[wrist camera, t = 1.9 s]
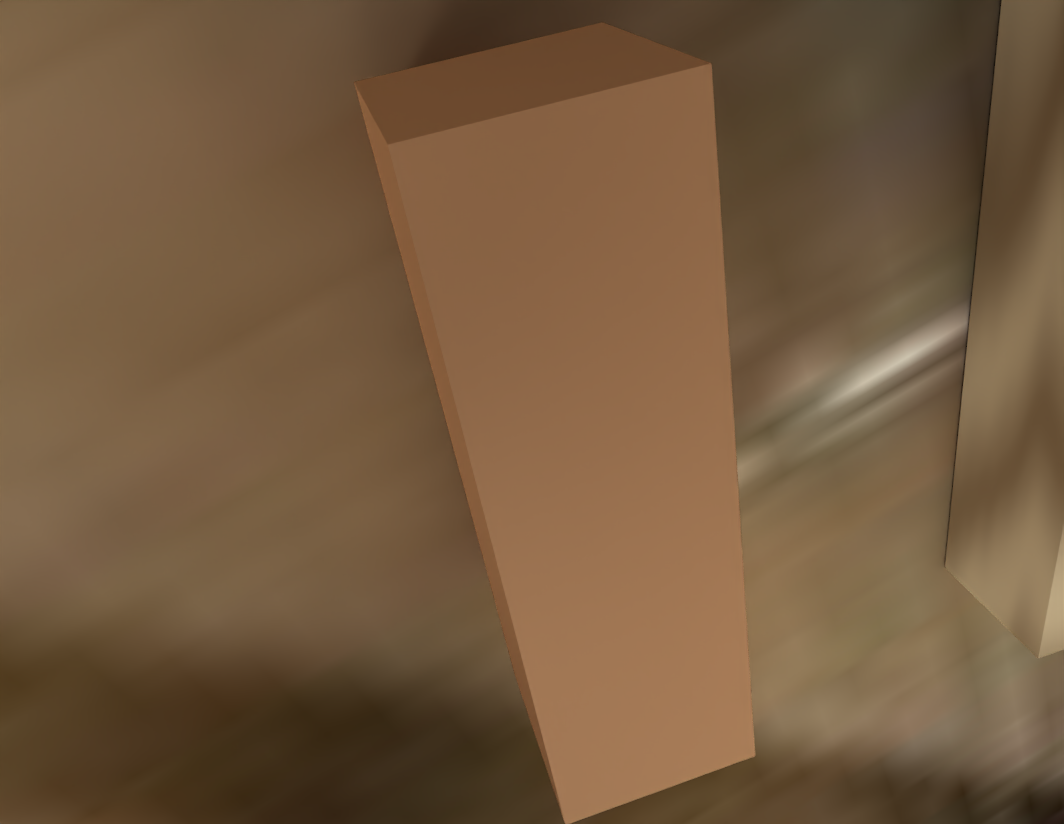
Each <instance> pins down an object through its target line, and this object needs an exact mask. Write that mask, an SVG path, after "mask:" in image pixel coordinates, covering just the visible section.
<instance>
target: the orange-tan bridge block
mask: <svg viewBox="0 0 1064 824" xmlns="http://www.w3.org/2000/svg"><path fill="white" fill-rule="evenodd" d="M354 84H355V88H356V91H357V95H358V99H359V103H360V106H361V110H362V114H363V117H364V121H365V125H366V128H367V132H368V136H369V139H370V143H371V147H372V150H373V154H374V158H375V161H376V165H377V169H378V173H379V176H380V180H381V184H382V187H383V191H384V195H385V198H386V202H387V206H388V209H389V213H390V217H391V220H392V224H393V228H394V231H395V235H396V239H397V243H398V246H399V250H400V254H401V257H402V261H403V265H404V268H405V272H406V276H407V279H408V283H409V287H410V290H411V294H412V298H413V302H414V305H415V309H416V313H417V316H418V320H419V324H420V327H421V331H422V335H423V338H424V342H425V346H426V349H427V353H428V357H429V360H430V364H431V368H432V372H433V375H434V379H435V383H436V386H437V390H438V394H439V397H440V401H441V405H442V408H443V412H444V416H445V419H446V423H447V427H448V430H449V434H450V438H451V442H452V445H453V449H454V453H455V456H456V460H457V464H458V467H459V471H460V475H461V478H462V482H463V486H464V489H465V493H466V497H467V501H468V504H469V508H470V512H471V515H472V519H473V523H474V526H475V530H476V534H477V537H478V541H479V545H480V548H481V552H482V556H483V559H484V563H485V567H486V571H487V574H488V578H489V582H490V585H491V589H492V593H493V596H494V600H495V604H496V607H497V611H498V615H499V618H500V622H501V626H502V629H503V633H504V637H505V641H506V644H507V648H508V652H509V655H510V659H511V663H512V666H513V670H514V674H515V677H516V680H517V683H518V686H519V689H520V692H521V695H522V698H523V701H524V704H525V706H526V709H527V712H528V715H529V718H530V721H531V724H532V727H533V730H534V733H535V736H536V739H537V742H538V745H539V748H540V751H541V754H542V757H543V760H544V763H545V766H546V769H547V772H548V775H549V778H550V781H551V784H552V787H553V790H554V793H555V795H556V798H557V801H558V804H559V807H560V810H561V813H562V816H563V819H564V822H565V824H570V823H573V822H575V821H578V820H581V819H584V818H586V817H589V816H592V815H595V814H597V813H600V812H603V811H606V810H608V809H611V808H614V807H617V806H619V805H622V804H625V803H628V802H630V801H633V800H636V799H639V798H641V797H644V796H647V795H650V794H652V793H655V792H658V791H660V790H663V789H666V788H669V787H671V786H674V785H677V784H680V783H682V782H685V781H688V780H691V779H693V778H696V777H699V776H702V775H704V774H707V773H710V772H713V771H715V770H718V769H721V768H724V767H726V766H729V765H732V764H735V763H737V762H740V761H743V760H746V759H748V758H751V757H754V756H755V744H754V728H753V713H752V697H751V681H750V665H749V649H748V633H747V617H746V601H745V586H744V570H743V554H742V538H741V522H740V506H739V490H738V475H737V459H736V443H735V427H734V411H733V395H732V379H731V364H730V348H729V332H728V316H727V300H726V284H725V268H724V252H723V237H722V221H721V205H720V189H719V173H718V157H717V141H716V126H715V110H714V94H713V78H712V63H709V62H707V61H704V60H701V59H699V58H696V57H693V56H691V55H688V54H685V53H683V52H680V51H677V50H675V49H672V48H669V47H667V46H664V45H661V44H659V43H656V42H654V41H651V40H648V39H646V38H643V37H640V36H638V35H635V34H632V33H630V32H627V31H624V30H622V29H619V28H616V27H614V26H611V25H609V24H606V23H603V22H601V23H597V24H593V25H589V26H585V27H581V28H577V29H572V30H568V31H564V32H560V33H556V34H552V35H547V36H543V37H539V38H535V39H531V40H527V41H522V42H518V43H514V44H510V45H506V46H502V47H497V48H493V49H489V50H485V51H481V52H477V53H472V54H468V55H464V56H460V57H456V58H452V59H447V60H443V61H439V62H435V63H431V64H427V65H423V66H418V67H414V68H410V69H406V70H402V71H398V72H393V73H389V74H385V75H381V76H377V77H373V78H368V79H364V80H360V81H356V82H354Z"/></svg>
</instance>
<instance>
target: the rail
mask: <svg viewBox="0 0 1064 824" xmlns="http://www.w3.org/2000/svg"><path fill="white" fill-rule="evenodd" d="M945 568H946V569H947V570H948V571H949V572H950V573H951V574H952V575H953V576H954V577H955V578H956V579H957V580H958V581H959V582H960V583H961V584H962V585H963V586H964V587H965V588H966V589H967V590H968V591H969V592H970V593H971V594H972V595H973V596H974V597H975V598H976V599H978V600H979V601H980V602H981V603H982V604H983V605H984V606H985V607H986V608H987V609H988V610H989V611H990V612H991V613H992V614H993V615H994V616H995V617H996V618H997V619H998V620H999V621H1000V622H1001V623H1002V624H1003V625H1004V626H1005V627H1006V628H1007V629H1008V630H1009V631H1010V632H1011V633H1012V634H1013V635H1014V636H1015V637H1016V638H1017V639H1018V640H1020V641H1021V642H1022V643H1023V644H1024V645H1025V646H1026V647H1027V648H1028V649H1029V650H1030V651H1031V652H1032V653H1033V654H1034V655H1035V656H1036V657H1037V658H1038V659H1039V658H1041V657H1044V656H1047V655H1050V654H1052V653H1055V652H1058V651H1061V650H1063V649H1064V0H1002V1H1001V11H1000V21H999V31H998V41H997V51H996V61H995V71H994V81H993V91H992V101H991V111H990V121H989V131H988V141H987V151H986V161H985V171H984V181H983V191H982V201H981V211H980V221H979V231H978V241H977V251H976V261H975V271H974V281H973V291H972V301H971V311H970V321H969V331H968V341H967V351H966V361H965V371H964V381H963V391H962V401H961V411H960V421H959V431H958V441H957V451H956V461H955V471H954V481H953V491H952V501H951V511H950V521H949V531H948V541H947V551H946V561H945Z"/></svg>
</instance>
